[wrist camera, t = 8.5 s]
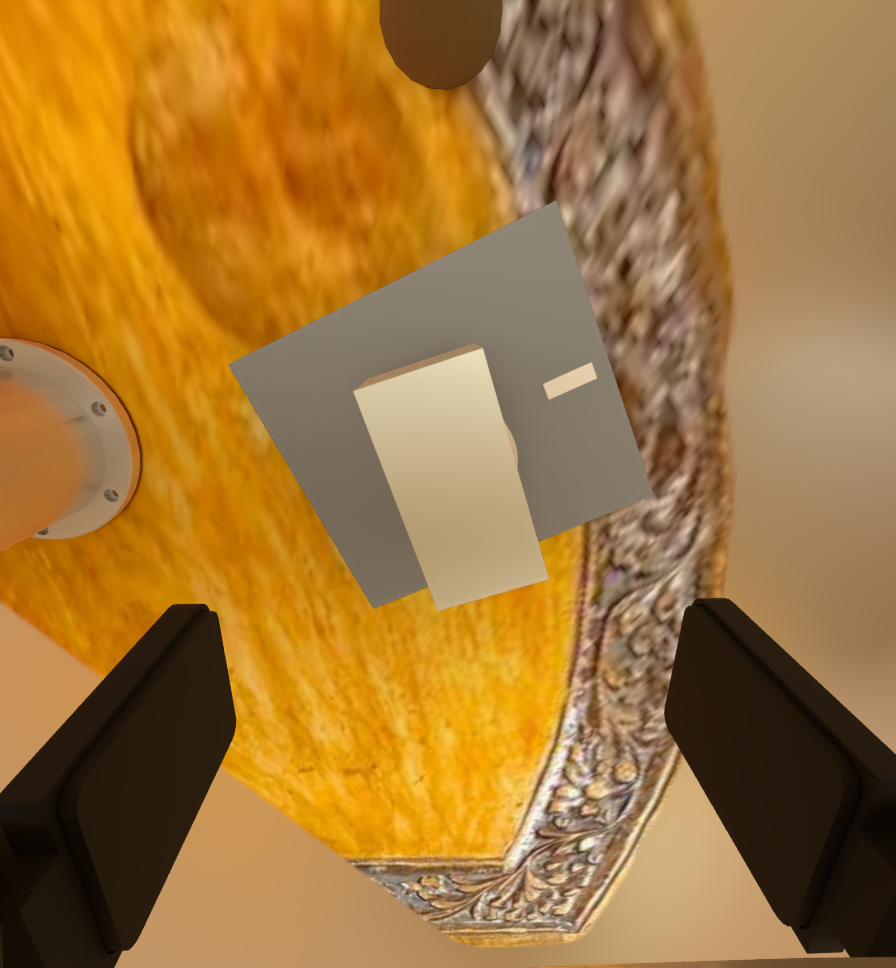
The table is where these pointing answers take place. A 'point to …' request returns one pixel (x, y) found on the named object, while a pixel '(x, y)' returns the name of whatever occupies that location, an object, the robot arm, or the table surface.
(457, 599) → the cream rectangular block
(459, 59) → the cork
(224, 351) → the table surface
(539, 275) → the base plate
